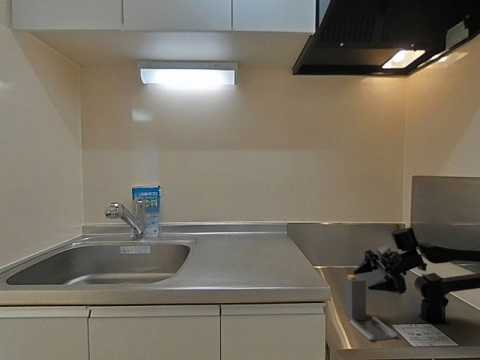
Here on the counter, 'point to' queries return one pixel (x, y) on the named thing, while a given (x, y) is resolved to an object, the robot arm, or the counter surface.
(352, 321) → the rail seat
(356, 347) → the counter surface
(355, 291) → the block
